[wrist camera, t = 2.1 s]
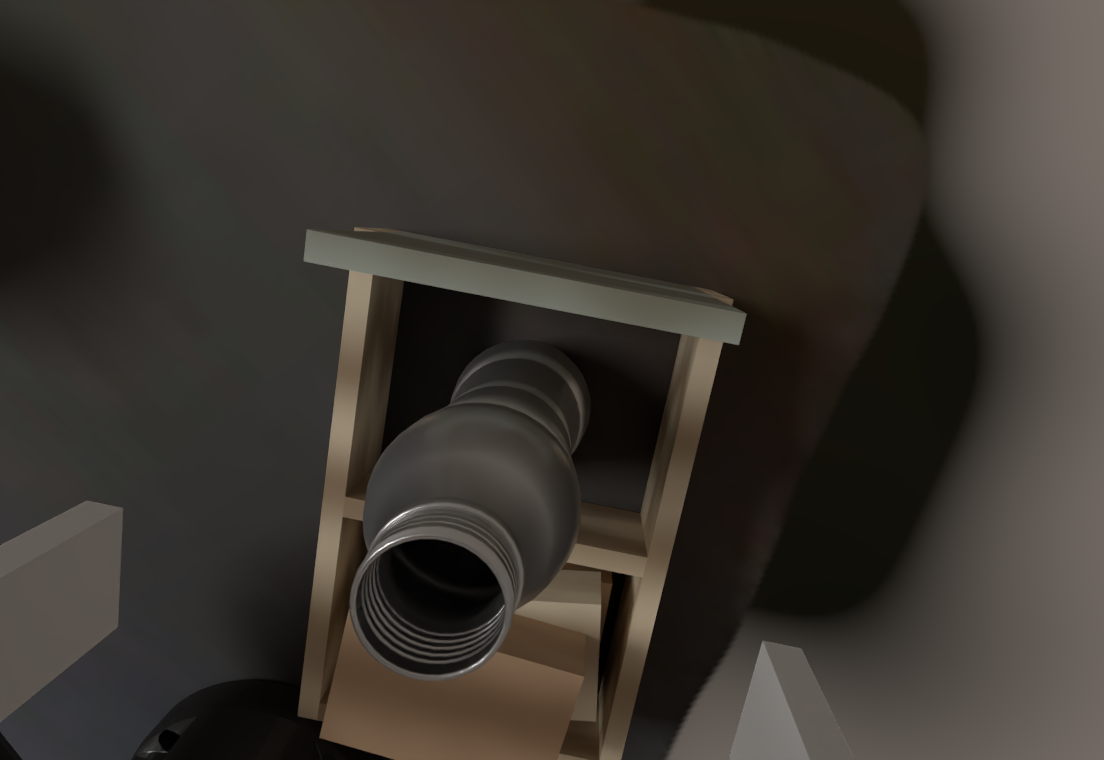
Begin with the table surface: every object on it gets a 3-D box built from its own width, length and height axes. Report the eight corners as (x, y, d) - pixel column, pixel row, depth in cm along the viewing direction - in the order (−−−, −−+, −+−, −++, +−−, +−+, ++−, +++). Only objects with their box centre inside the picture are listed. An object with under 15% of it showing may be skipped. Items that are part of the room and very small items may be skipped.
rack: (612, 712, 38) (620, 927, 26) (336, 654, 38) (219, 840, 26) (712, 290, 32) (778, 319, 21) (390, 228, 33) (276, 223, 21)
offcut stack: (589, 676, 37) (587, 811, 29) (377, 635, 38) (310, 757, 29) (615, 547, 36) (622, 648, 27) (393, 506, 36) (327, 593, 27)
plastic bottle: (617, 403, 34) (645, 627, 14) (517, 482, 35) (416, 789, 16) (535, 305, 33) (446, 401, 14) (435, 389, 34) (222, 589, 15)
